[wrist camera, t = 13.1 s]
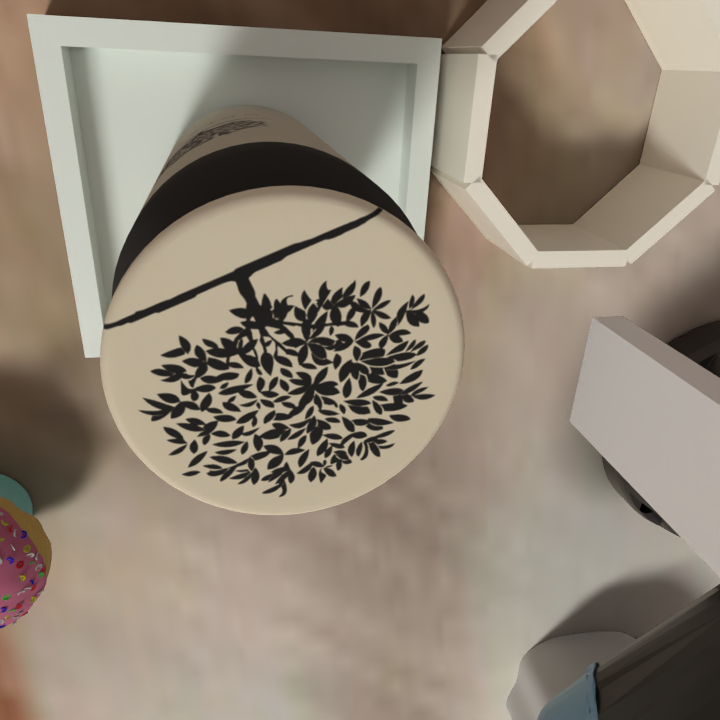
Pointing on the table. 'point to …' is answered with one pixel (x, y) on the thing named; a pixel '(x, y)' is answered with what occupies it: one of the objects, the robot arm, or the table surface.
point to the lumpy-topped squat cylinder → (558, 668)
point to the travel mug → (276, 323)
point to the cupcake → (20, 552)
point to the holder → (641, 186)
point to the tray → (204, 96)
